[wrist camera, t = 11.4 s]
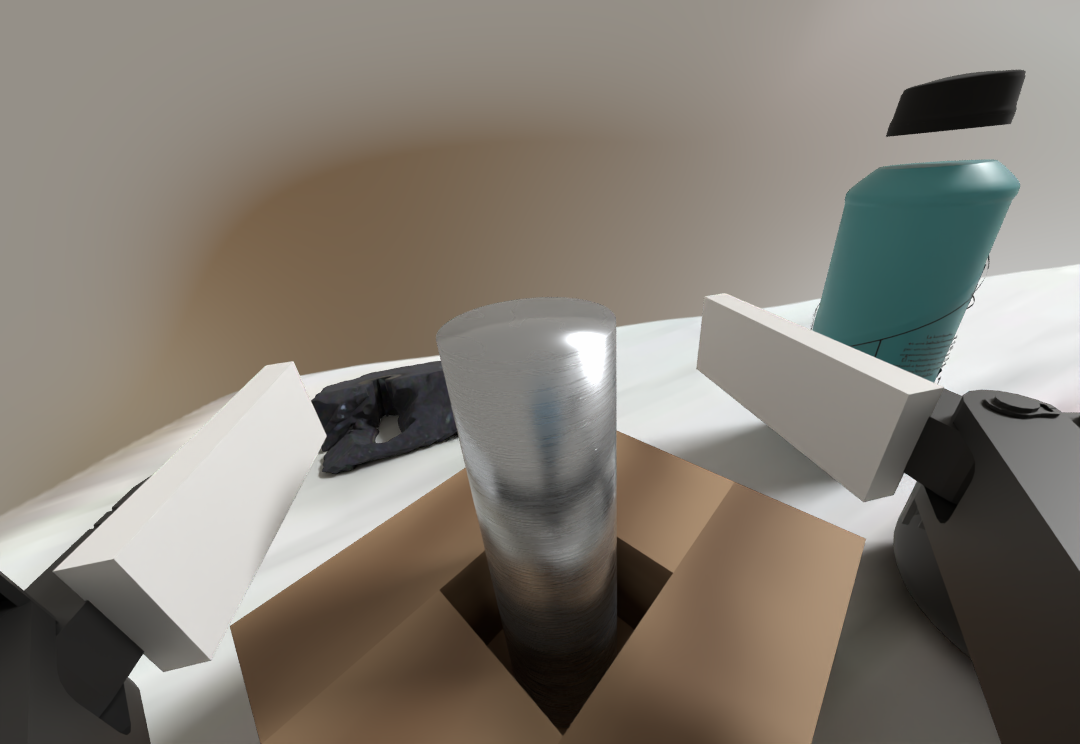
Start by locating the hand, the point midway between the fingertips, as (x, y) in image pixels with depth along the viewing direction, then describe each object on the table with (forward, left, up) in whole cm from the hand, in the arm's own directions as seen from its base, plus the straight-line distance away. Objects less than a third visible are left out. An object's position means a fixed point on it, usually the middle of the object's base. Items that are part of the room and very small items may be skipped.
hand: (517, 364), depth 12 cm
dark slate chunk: (+20, -8, -13) cm, 25 cm away
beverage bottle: (-8, -21, -13) cm, 26 cm away
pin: (-3, +2, -12) cm, 12 cm away
